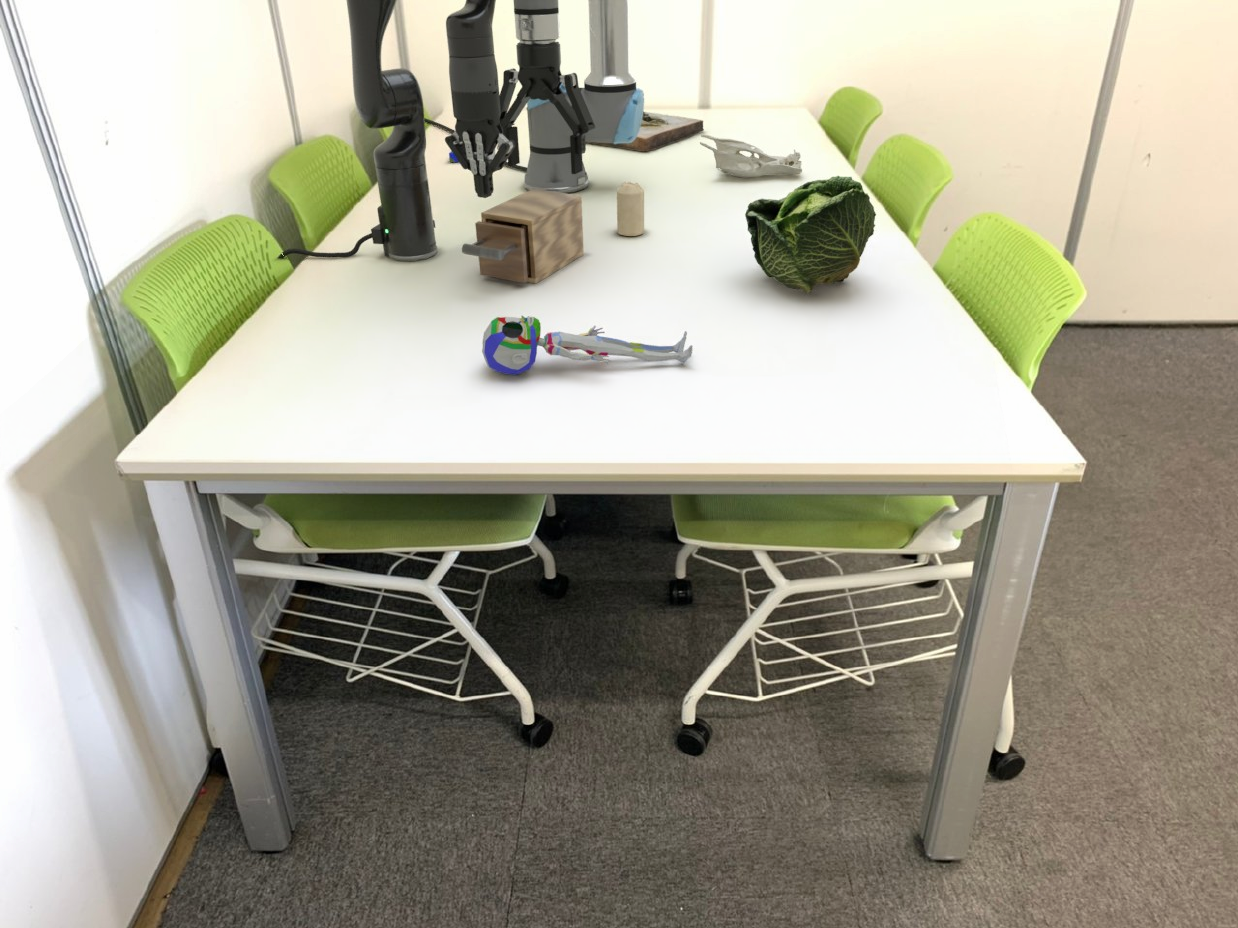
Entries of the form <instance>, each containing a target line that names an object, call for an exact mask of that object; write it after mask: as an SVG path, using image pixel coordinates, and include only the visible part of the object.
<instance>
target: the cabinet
mask: <svg viewBox="0 0 1238 928" xmlns="http://www.w3.org/2000/svg"><path fill="white" fill-rule="evenodd" d="M480 218H481V222H487V223H488V221H489V220H491V219H492V220H498V221H505V222H511V223H517V224H524V225H528V237H529V251H530V265H531V274H530V275H529V276H528V281H527V282H526V283H529V284H538V283H539V282H541V281H544V280H545V279H547V278H549V276H551V275H553V274H555V273H556V272H558V271H559V270H561V269H562V268H564V267H566V266H567V265H569V264H571V263H572V262H575V261H576V260H578V259H580V257H582V256H584V255H585V253H584V227H583V201H582V195H581V194H573V193H560V192H552V191H545V190H538V189H532V190H530V191H529V190H527V191H525V192H523V193H521V194H518V195H517V196H514V197H512V198H510V199H508V200H505V201H504V202H502V203H499V204H496V205H495V206H493V207H491V208H488V209H486V210H484V211H482V212H480Z"/></svg>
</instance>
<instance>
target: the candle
mask: <svg viewBox="0 0 1238 928" xmlns="http://www.w3.org/2000/svg"><path fill="white" fill-rule="evenodd" d="M616 228H617V234H618V235H621V236H624V237H625V236H626V237H636V236H641V235H642V234H644V233H645V189H644V188H643V187H642V186H641V185H640V184H639V182H636V183H633V182H629V181H623V182H622V183H621V185H620V186H618V188H617V189H616Z"/></svg>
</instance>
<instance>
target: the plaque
mask: <svg viewBox="0 0 1238 928" xmlns="http://www.w3.org/2000/svg"><path fill="white" fill-rule="evenodd" d="M704 130H705V129H704V120H702V119H698V118H693V117H685V116H679V115H669V114H663V113H659V112H650V111H644V110H643V117H642V122H641V126H640V130H639V133H638V135H637V137H636V139H635V140H634V141H633V142H631V143H617V144H614V143H596V142H586V144H593V145H597V146H598V145H599V146H607V147H612V148H620V149H625V150H632V151H640V152H648V151H654V150H656V149H659V148H662V147H663V146H664V147H665V146H667V145H670V144H672V143H676V142H680V141H682V140H684V139H687V138H691V137H692V136H694V135H696V134H698V133H700V132H704Z"/></svg>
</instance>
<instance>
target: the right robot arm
mask: <svg viewBox="0 0 1238 928" xmlns="http://www.w3.org/2000/svg"><path fill="white" fill-rule="evenodd" d="M587 2H588V29H589V30H588V34H589V60H590V61H589V62H590V66H589V67H590V72H589V74H588V75H587V76H586V77H585V79H584V81H583V84H584V86H583V87H579V86H580V85H579V78H578V74H577V73H576V72H571V73H568V74H567V73H566V74H562V71H561V64H562V54H561V43H560V42H559V41H557V40H559V38H561V30H560V9H559V0H513V13H514V16H513V17H514V29H515V38H516V40H517V41H519V42H517V44H516V45H515V48H516V61H517V62H516V63H517V65H518V68H519V70H517V69H516V68H513V67H512V68H508V69H505V70H504V71H503V75H502V76H503V79H502V87H501V90H500V91H499V96H500V109H501V115H500V120H499V121H500V125H501V127H502V129H503V135H504V136H505V137H506V138H507V139H508V140H509V141H511V140H513V141H514V142H515V144H516V146H515V148H514V149H513V151H512V153H511V154H510V156H509V158H508V159H507V161H506V163H505V164H504V166H506V167H509V168H512V169H516V170H518V171H523V172H525V175H524V180H523V183H524V188H525V189H526V190H527V191H530V190H532V189H538V190H545V191H552V192H560V193H567V194H572V193H576V192H579V191H583V190H584V189H586V188H587V187H589V175H588V173H587V171H586V168H585V164H584V161H583V154H585V153H586V151H587V148H586V147H587V143H586V142H596V143H614V144H617V143H631V142H633V141H634V140H635V139H636V137H637V135H638V133H639V130H640V126H641V122H642V117H643V111H644V110H645V93H644V90H643V89H641V88H639V87H637V78H636V77H635V76H634V75H633V74H632V73H631V72H630V71H631V70H630V37H629V36H630V24H629V21H630V20H629V18H630V16H629V15H630V13H629V7H630V6H629V0H588V1H587ZM518 82H519V84H520V85H521V88H520V89H519V90H518V92H517V94H516V98H515V99H514V101H513V103H511V102H512V99H513V97H514V94H515V89H516V88H517V87H516V86H517V83H518ZM525 106H526V107H525ZM525 108H526V109H525ZM524 109H525V110H526V113H527V127H528V140H529V141H528V142H529V157H528V162H527V166H522V165H519V164H521V161H520V160H521V159H520V144H519V131H518V126H515V125H516V123H515V122H516V121H517V119H518V118H519V117H520V114H521V113H522V111H523V110H524ZM424 121H425V123H428V124H431V125H434V126H435V127H439V128H441V129H442V130H445V131H448V132H449V133H451V134H453V133H454V132H455V129H452V128H451V127H448V126H446V125H444V124H441V123H439V122H436V121H434V120H432V119H429V118H426V117H424Z"/></svg>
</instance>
